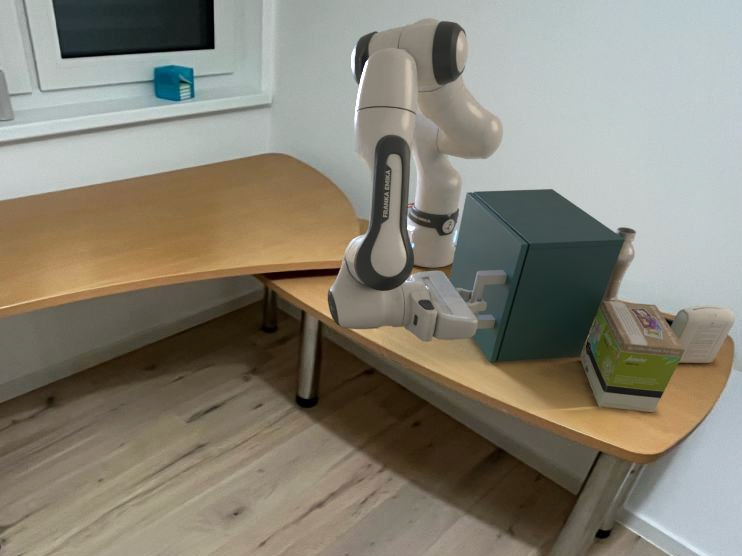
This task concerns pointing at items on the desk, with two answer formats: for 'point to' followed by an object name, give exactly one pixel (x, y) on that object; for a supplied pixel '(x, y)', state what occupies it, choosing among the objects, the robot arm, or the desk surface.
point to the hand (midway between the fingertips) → (481, 300)
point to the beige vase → (620, 264)
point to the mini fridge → (553, 273)
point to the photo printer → (702, 331)
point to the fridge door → (487, 269)
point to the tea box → (630, 356)
